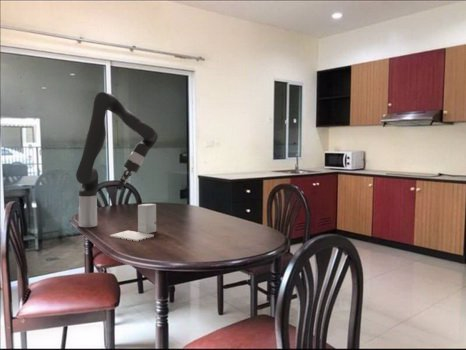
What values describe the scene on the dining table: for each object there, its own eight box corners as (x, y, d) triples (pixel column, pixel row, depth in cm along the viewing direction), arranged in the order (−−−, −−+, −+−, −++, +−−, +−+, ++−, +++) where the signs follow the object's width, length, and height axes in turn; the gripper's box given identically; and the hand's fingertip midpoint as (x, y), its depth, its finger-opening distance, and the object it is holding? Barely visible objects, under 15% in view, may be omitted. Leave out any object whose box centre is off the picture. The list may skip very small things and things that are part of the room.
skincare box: (146, 234, 193) (145, 205, 192) (137, 233, 196) (137, 204, 195) (156, 231, 201) (156, 203, 200) (148, 230, 204) (148, 202, 203)
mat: (110, 236, 188) (110, 235, 188) (127, 231, 199) (127, 230, 199) (137, 241, 179) (137, 239, 179) (154, 236, 190) (154, 234, 190)
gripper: (128, 159, 204) (113, 186, 202) (127, 157, 190) (110, 185, 188) (141, 166, 206) (126, 192, 203) (140, 164, 192) (124, 192, 189)
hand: (118, 189), depth 196 cm, fingers open, 8 cm apart
